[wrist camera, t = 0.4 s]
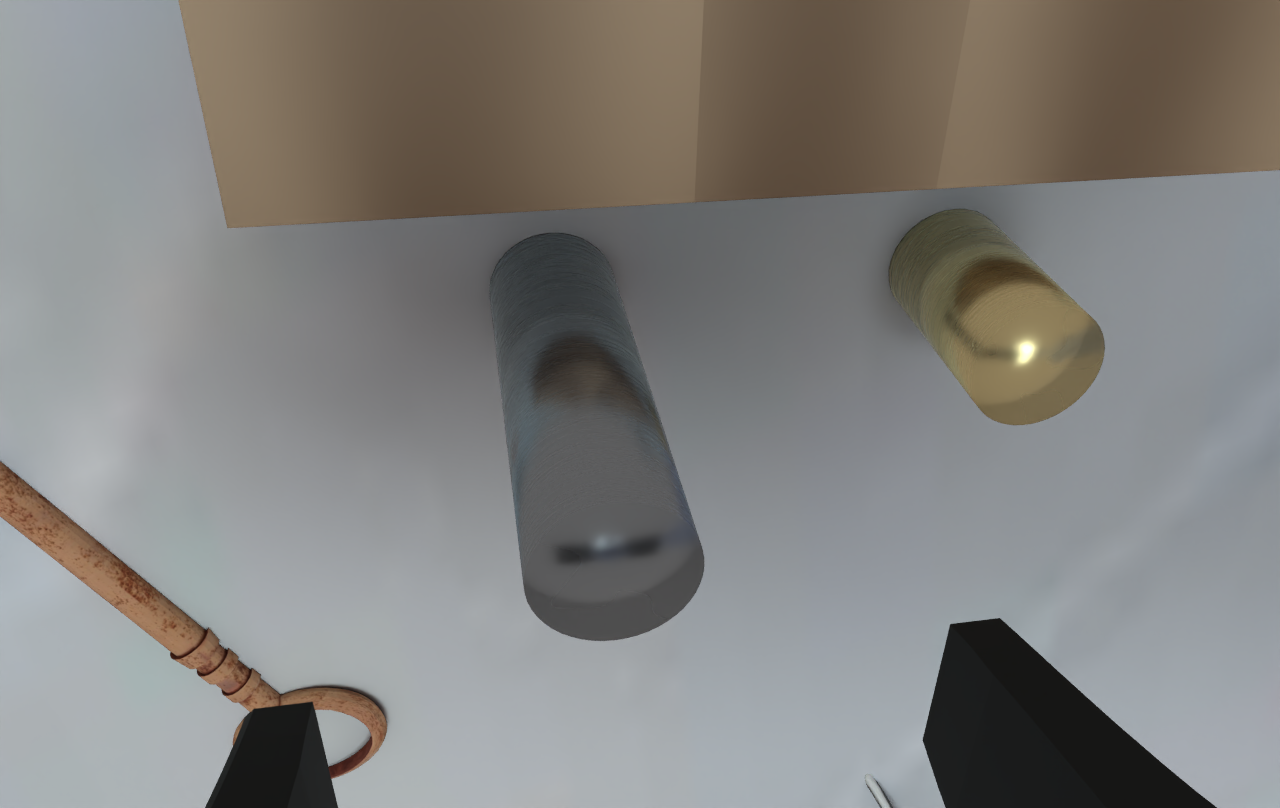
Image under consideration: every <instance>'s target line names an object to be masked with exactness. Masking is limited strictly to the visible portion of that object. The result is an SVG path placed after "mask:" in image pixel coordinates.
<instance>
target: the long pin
mask: <svg viewBox="0 0 1280 808" xmlns="http://www.w3.org/2000/svg"><path fill="white" fill-rule="evenodd" d="M490 302H491V310H492V319H493V328H494V336H495V345H496V353H497V362H498V370H499V379H500V388H501V396H502V405H503V413H504V422H505V430H506V439H507V448H508V456H509V465H510V473H511V482H512V490H513V499H514V508H515V516H516V525H517V533H518V542H519V550H520V559H521V567H522V576H523V585H524V591H525V596H526V599H527V602H528V604H529V605H530V607H531V609H532V611H533V612H534V613H535V614H536V616H537V617H538V618H539V619H540V620H541V621H543V622H544V623H545V624H546V625H548V626H549V627H551V628H552V629H554V630H556V631H558V632H560V633H562V634H565V635H568V636H571V637H575V638H579V639H585V640H594V641H607V640H618V639H624V638H629V637H633V636H636V635H639V634H642V633H645V632H648V631H650V630H652V629H654V628H656V627H658V626H660V625H662V624H663V623H665V622H667V621H668V620H670V619H671V618H672V617H674V616H675V615H676V614H678V613H679V612H680V611H681V610H682V609H683V608H684V607H685V606H686V605H687V604H688V602H689V601H690V600H691V599H692V597H693V596H694V594H695V593H696V591H697V589H698V587H699V585H700V582H701V579H702V576H703V571H704V555H703V550H702V546H701V543H700V540H699V537H698V534H697V531H696V528H695V525H694V522H693V519H692V515H691V512H690V509H689V506H688V503H687V500H686V497H685V494H684V491H683V488H682V485H681V482H680V479H679V475H678V472H677V469H676V466H675V463H674V460H673V457H672V454H671V451H670V448H669V445H668V442H667V439H666V436H665V432H664V429H663V426H662V423H661V420H660V417H659V414H658V411H657V408H656V405H655V402H654V399H653V396H652V392H651V389H650V386H649V383H648V380H647V377H646V374H645V371H644V368H643V365H642V362H641V359H640V356H639V353H638V349H637V346H636V343H635V340H634V337H633V334H632V331H631V328H630V325H629V322H628V319H627V316H626V313H625V309H624V306H623V303H622V300H621V297H620V294H619V291H618V288H617V285H616V282H615V279H614V276H613V273H612V270H611V267H610V265H609V263H608V261H607V260H606V258H605V257H604V256H603V254H602V253H601V252H600V251H599V250H598V249H597V248H596V247H594V246H593V245H592V244H590V243H589V242H587V241H585V240H583V239H581V238H578V237H576V236H572V235H568V234H560V233H549V234H542V235H537V236H534V237H531V238H528V239H526V240H524V241H522V242H520V243H518V244H517V245H515V246H514V247H512V248H511V249H510V250H509V251H508V252H507V253H506V254H505V255H504V256H503V257H502V258H501V260H500V261H499V263H498V264H497V266H496V268H495V270H494V272H493V275H492V278H491V282H490Z"/></svg>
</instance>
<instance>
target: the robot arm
mask: <svg viewBox="0 0 1280 808" xmlns="http://www.w3.org/2000/svg"><path fill="white" fill-rule="evenodd" d="M923 742H924V745H925V748H926V751H927V755H928V758H929V761H930V764H931V767H932V770H933V773H934V776H935V779H936V782H937V785H938V788H939V791H940V793H941V796H942V799H943V802H944V804H945V807H946V808H1217V807H1215V806H1214V805H1213V804H1211V803H1210V802H1209V801H1208V800H1206V799H1205V798H1204V797H1203V796H1201V795H1200V794H1199V793H1197V792H1196V791H1195V790H1194V789H1193V788H1191V787H1190V786H1189V785H1188V784H1186V783H1185V782H1184V781H1183V780H1182V779H1180V778H1179V777H1178V776H1177V775H1175V774H1174V773H1173V772H1172V771H1171V770H1169V769H1168V768H1167V767H1166V766H1165V765H1164V764H1162V763H1161V762H1160V761H1159V760H1158V759H1157V758H1155V757H1154V756H1153V755H1152V754H1151V753H1150V752H1148V751H1147V750H1146V749H1145V748H1144V747H1143V746H1141V745H1140V744H1139V743H1138V742H1137V741H1136V740H1134V739H1133V738H1132V737H1131V736H1130V735H1129V734H1127V733H1126V732H1125V731H1124V730H1123V729H1122V728H1121V727H1119V726H1118V725H1117V724H1116V723H1115V722H1114V721H1113V720H1111V719H1110V718H1109V717H1108V716H1107V715H1106V714H1105V713H1104V712H1102V711H1101V710H1100V709H1099V708H1098V707H1097V706H1096V705H1095V704H1094V703H1092V702H1091V701H1090V700H1089V699H1088V698H1087V697H1086V696H1085V695H1084V694H1083V693H1081V692H1080V691H1079V690H1078V689H1077V688H1076V687H1075V686H1074V685H1073V684H1071V683H1070V682H1069V681H1068V680H1067V679H1066V678H1065V677H1064V676H1063V675H1062V674H1060V673H1059V672H1058V671H1057V670H1056V669H1055V668H1054V667H1053V666H1052V665H1051V664H1050V663H1048V662H1047V661H1046V660H1045V659H1044V658H1043V657H1042V656H1041V655H1040V654H1039V653H1038V652H1036V651H1035V650H1034V649H1033V648H1032V647H1031V646H1030V645H1029V644H1028V643H1027V642H1025V641H1024V640H1023V639H1022V638H1021V637H1020V636H1019V635H1018V634H1017V633H1016V632H1015V631H1013V630H1012V629H1011V628H1010V627H1009V626H1008V625H1007V624H1006V623H1005V622H1003V621H1002V620H1001V619H1000V618H997V619H989V620H981V621H972V622H964V623H956V624H950V628H949V632H948V636H947V640H946V645H945V649H944V653H943V657H942V661H941V665H940V670H939V674H938V678H937V682H936V686H935V691H934V695H933V699H932V703H931V707H930V711H929V716H928V720H927V724H926V728H925V732H924V737H923ZM205 808H338V806H337V801H336V797H335V793H334V789H333V785H332V780H331V776H330V772H329V768H328V763H327V759H326V755H325V751H324V747H323V742H322V738H321V734H320V730H319V726H318V721H317V717H316V713H315V709H314V704H313V702H305V703H297V704H289V705H281V706H273V707H264V708H256V709H253V710H252V711H251V712H250V713H249V714H248V715H247V716H246V717H245V718H244V721H243V723H242V726H241V728H240V731H239V733H238V736H237V738H236V741H235V743H234V745H233V748H232V750H231V752H230V755H229V757H228V759H227V762H226V764H225V766H224V768H223V771H222V773H221V775H220V777H219V779H218V782H217V784H216V786H215V788H214V790H213V792H212V794H211V797H210V799H209V801H208V803H207V805H206V807H205Z"/></svg>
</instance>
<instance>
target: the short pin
mask: <svg viewBox="0 0 1280 808" xmlns="http://www.w3.org/2000/svg"><path fill="white" fill-rule="evenodd" d="M889 283H890V288H891V290H892V293H893V295H894V297H895V299H896V300H897V301H898V303H899V304H900V305H901V307H902V308H903V309H904V310H905V312H906V313H907V314H908V316H909V317H910V318H911V320H912V321H913V322H914V324H915V325H916V326H917V328H918V329H919V330H920V331H921V333H922V334H923V335H924V337H925V338H926V339H927V341H928V342H929V343H930V345H931V346H932V347H933V349H934V350H935V351H936V352H937V354H938V355H939V356H940V358H941V359H942V360H943V362H944V363H945V364H946V366H947V367H948V368H949V370H950V371H951V372H952V373H953V375H954V376H955V377H956V379H957V380H958V381H959V383H960V384H961V385H962V387H963V388H964V389H965V391H966V392H967V393H968V394H969V396H970V397H971V398H972V400H973V401H974V402H975V404H976V405H977V406H978V408H979V409H980V410H981V411H982V412H983V413H984V414H985V415H986V416H987V417H989V418H991V419H992V420H994V421H997V422H1000V423H1004V424H1009V425H1025V424H1032V423H1036V422H1040V421H1043V420H1046V419H1048V418H1050V417H1053V416H1055V415H1057V414H1058V413H1060V412H1062V411H1064V410H1065V409H1067V408H1068V407H1069V406H1071V405H1072V404H1073V403H1075V402H1076V401H1077V400H1078V399H1079V398H1080V397H1081V396H1082V395H1083V394H1084V393H1085V392H1086V391H1087V389H1088V388H1089V387H1090V386H1091V384H1092V383H1093V381H1094V380H1095V378H1096V376H1097V374H1098V372H1099V370H1100V368H1101V365H1102V362H1103V357H1104V350H1105V345H1104V338H1103V333H1102V331H1101V329H1100V327H1099V325H1098V324H1097V323H1096V321H1095V320H1094V319H1093V318H1092V317H1091V316H1090V315H1089V314H1087V313H1086V312H1085V311H1084V310H1083V309H1082V308H1081V307H1080V306H1079V305H1078V304H1077V303H1076V302H1075V301H1074V300H1073V299H1072V298H1071V297H1070V296H1069V295H1068V294H1067V293H1066V292H1065V291H1063V290H1062V289H1061V288H1060V287H1059V286H1058V285H1057V284H1056V283H1055V282H1054V281H1053V280H1052V279H1051V278H1050V277H1049V276H1048V275H1047V274H1046V273H1045V272H1044V271H1043V270H1042V269H1041V268H1040V267H1038V266H1037V265H1036V264H1035V263H1034V262H1033V261H1032V260H1031V259H1030V258H1029V257H1028V256H1027V255H1026V254H1025V253H1024V252H1023V251H1022V250H1021V249H1020V248H1019V247H1018V246H1017V245H1016V244H1014V243H1013V242H1012V241H1011V240H1010V239H1009V238H1008V237H1007V236H1006V235H1005V234H1004V233H1003V232H1002V231H1001V230H1000V229H999V228H998V227H997V226H996V225H995V224H994V223H993V222H992V221H991V220H989V219H988V218H987V217H985V216H984V215H982V214H980V213H978V212H975V211H972V210H965V209H954V210H947V211H943V212H940V213H937V214H934V215H932V216H930V217H928V218H926V219H925V220H923V221H921V222H920V223H919V224H917V225H916V226H915V227H913V228H912V229H911V230H910V231H909V232H908V233H907V234H906V235H905V237H904V238H903V239H902V240H901V242H900V243H899V245H898V246H897V248H896V250H895V252H894V254H893V257H892V260H891V264H890V268H889Z"/></svg>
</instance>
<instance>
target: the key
mask: <svg viewBox="0 0 1280 808" xmlns="http://www.w3.org/2000/svg"><path fill="white" fill-rule="evenodd" d="M0 517H2V518H3V519H4V520H5V521H7V522H8V523H9V524H10V525H12V526H13V527H14V528H16V529H17V530H18V531H19V532H21V533H22V534H23V535H24V536H26V537H27V538H28V539H29V540H31V541H32V542H33V543H34V544H36V545H37V546H38V547H40V548H41V549H42V550H43V551H45V552H46V553H47V554H48V555H50V556H51V557H52V558H53V559H55V560H56V561H57V562H58V563H60V564H61V565H62V566H63V567H65V568H66V569H67V570H69V571H70V572H71V573H72V574H74V575H75V576H76V577H77V578H79V579H80V580H81V581H82V582H84V583H85V584H86V585H87V586H89V587H90V588H91V589H93V590H94V591H95V592H96V593H98V594H99V595H100V596H101V597H103V598H104V599H105V600H106V601H108V602H109V603H110V604H111V605H113V606H114V607H115V608H116V609H118V610H119V611H120V612H122V613H123V614H124V615H125V616H127V617H128V618H129V619H130V620H132V621H133V622H134V623H135V624H137V625H138V626H139V627H140V628H142V629H143V630H144V631H146V632H147V633H148V634H149V635H151V636H152V637H153V638H154V639H156V640H157V641H158V642H159V643H161V644H162V645H163V646H164V647H166V648H167V649H168V650H169V651H171V653H170V656H171V658H172V659H174V660H176V661H177V662H179V663H181V664H182V665H184V666H186V667H188V668H189V669H195V668H196V669H197V674H198V675H199V676H200V677H201V678H203V679H204V680H205V681H206V682H208V683H209V684H216V685H217V686H218V687H220V688H221V689H222V694H223V695H225V696H226V697H227V698H228V699H230V700H231V701H232V702H234V703H238V702H239V703H240V704H241V705H242V706H244V707H245V708H246V709H247V710H249V711H250V712H251V711H252V710H253V709H256V708H264V707H273V706H281V705H289V704H297V703H305V702H313V704H314V709H315V710H333V711H337V712H342V713H345V714H347V715H351V716H353V717H355V718H357V719H358V720H360V721H361V722H363V723H364V724H365V725H366V726H367V727H368V729H369V731H370V732H371V738H370V740H369V741H368V742H367V743H366V745H365V746H364V747H363V748H362V749H360V750H359V751H358V752H357V753H355V754H354V755H353V756H351V757H349V758H348V759H346V760H344V761H342V762H340V763H338V764H335V765H333V766H330V767H328V768H329V772H330V776H331V779H333V778H336V777H339V776H341V775H344V774H346V773H348V772H351V771H353V770H354V769H356V768H358V767H359V766H361V765H362V764H364V763H365V762H367V761H368V760H369V759H370V758H371V757H372V756H373V755H374V754H375V753H376V752H377V751H378V750H379V748H380V746H381V745H382V743H383V741H384V739H385V736H386V733H387V724H386V719H385V717H384V715H383V714H382V712H381V710H380V708H379V707H378V706H377V705H376V704H375V703H374V702H373V701H371V700H370V699H369V698H367V697H365V696H363V695H361V694H359V693H356V692H353V691H349V690H344V689H338V688H308V689H302V690H296V691H293V692H289V693H285V694H283V695H280V694H278V693H277V692H276V691H275V690H274V689H272V688H271V687H270V686H269V685H268V684H266V683H265V682H264V681H263V680H261V679H260V674H258V673H257V672H256V671H255V670H254V669H251V670H249V669H248V668H247V667H246V666H244V665H243V664H242V663H241V662H240V661H238V656H237V655H236V654H235V653H233V652H232V651H231V650H230V649H229V648H228V649H227V651H226V650H225V649H224V648H223V647H221V646H220V645H219V639H218V638H217V637H216V636H215V635H214V634H213V632H212V631H211V630H210V629H209V628H208V629H207V630H206V631H205V630H204V629H203V628H202V627H201V626H199V625H198V624H197V623H196V622H195V621H193V620H192V619H191V618H190V617H189V616H187V615H186V614H185V613H184V612H182V611H181V610H180V609H179V608H178V607H176V606H175V605H174V604H173V603H172V602H170V601H169V600H168V599H167V598H165V597H164V596H163V595H162V594H161V593H159V592H158V591H157V590H156V589H155V588H153V587H152V586H151V585H150V584H149V583H147V582H146V581H145V580H144V579H142V578H141V577H140V576H139V575H138V574H136V573H135V572H134V571H133V570H132V569H130V568H129V567H128V566H127V565H125V564H124V563H123V562H122V561H121V560H119V559H118V558H117V557H116V556H115V555H113V554H112V553H111V552H110V551H109V550H107V549H106V548H105V547H104V546H102V545H101V544H100V543H99V542H98V541H96V540H95V539H94V538H93V537H92V536H90V535H89V534H88V533H87V532H85V531H84V530H83V529H82V528H81V527H79V526H78V525H77V524H76V523H75V522H73V521H72V520H71V519H70V518H68V517H67V516H66V515H65V514H64V513H62V512H61V511H60V510H59V509H57V508H56V507H55V506H54V505H53V504H51V503H50V502H49V501H48V500H47V499H45V498H44V497H43V496H42V495H40V494H39V493H38V492H37V491H36V490H34V489H33V488H32V487H31V486H29V485H28V484H27V483H26V482H25V481H23V480H22V479H21V478H20V477H19V476H17V475H16V474H15V473H14V472H12V471H11V470H10V469H9V468H8V467H6V466H5V465H4V464H3V463H1V462H0ZM243 721H244V719H243V720H242V722H241V723H240V724H239V726H238V727H237V729H236V731H235V734H234V738H233V745H234V743H235V741H236V738H237V736H238V733H239V731H240V728H241V726H242V723H243Z"/></svg>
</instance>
